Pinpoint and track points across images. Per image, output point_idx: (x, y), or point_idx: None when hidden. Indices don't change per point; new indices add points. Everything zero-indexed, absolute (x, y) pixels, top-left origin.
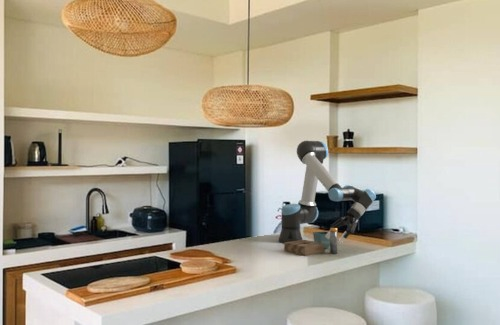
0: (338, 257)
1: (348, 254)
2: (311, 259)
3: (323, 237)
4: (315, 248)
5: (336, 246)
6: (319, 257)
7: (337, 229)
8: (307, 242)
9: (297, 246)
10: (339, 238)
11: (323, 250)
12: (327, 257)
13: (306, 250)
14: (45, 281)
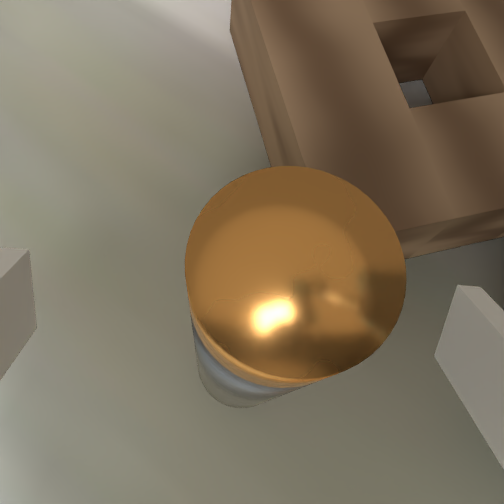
0: None
1: (87, 500)
2: (87, 3)
3: None
4: (273, 112)
5: (197, 362)
6: (121, 100)
7: (221, 353)
8: (471, 106)
9: None
10: (5, 266)
11: None
12: (80, 163)
13: (238, 4)
14: None
